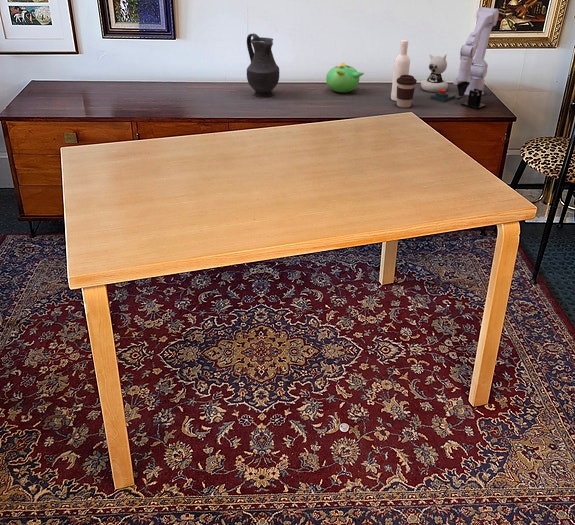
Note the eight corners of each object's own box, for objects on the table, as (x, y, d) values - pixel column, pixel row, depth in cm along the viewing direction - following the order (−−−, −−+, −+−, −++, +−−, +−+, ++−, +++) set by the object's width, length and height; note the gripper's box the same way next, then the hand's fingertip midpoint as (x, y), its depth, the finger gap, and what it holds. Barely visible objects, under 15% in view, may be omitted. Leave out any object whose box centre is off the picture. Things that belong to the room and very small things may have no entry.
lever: (457, 101, 329) (456, 96, 329) (463, 99, 333) (462, 94, 332) (475, 96, 321) (474, 91, 320) (481, 94, 324) (480, 89, 324)
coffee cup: (412, 103, 329) (416, 74, 321) (414, 109, 321) (417, 79, 313) (393, 102, 330) (396, 73, 322) (394, 108, 321) (397, 78, 314)
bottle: (395, 95, 340) (401, 37, 324) (408, 98, 336) (415, 40, 320) (388, 99, 334) (394, 40, 318) (401, 102, 330) (408, 42, 315)
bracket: (460, 105, 327) (463, 89, 323) (469, 102, 332) (471, 86, 328) (477, 110, 321) (480, 94, 317) (486, 107, 326) (489, 90, 322)
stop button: (441, 91, 337) (441, 88, 336) (447, 93, 335) (447, 90, 334) (437, 93, 335) (437, 89, 334) (443, 94, 332) (443, 91, 331)
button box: (442, 94, 343) (443, 88, 341) (455, 98, 338) (456, 91, 336) (430, 98, 336) (431, 92, 334) (443, 102, 331) (444, 95, 330)
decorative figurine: (415, 89, 350) (419, 52, 340) (428, 84, 360) (433, 48, 349) (439, 95, 342) (444, 57, 332) (452, 89, 352) (457, 52, 341)
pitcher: (260, 101, 328) (260, 41, 312) (236, 92, 341) (234, 34, 325) (285, 95, 337) (286, 36, 322) (261, 86, 351) (260, 29, 335)
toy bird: (351, 86, 354) (353, 59, 346) (364, 95, 340) (366, 67, 333) (321, 88, 349) (322, 61, 341) (332, 97, 335) (334, 69, 328)
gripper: (463, 73, 316) (459, 100, 323) (479, 68, 325) (475, 95, 332) (451, 70, 320) (447, 97, 327) (467, 65, 329) (463, 92, 336)
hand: (460, 95), depth 330 cm, fingers closed, pressing on lever
